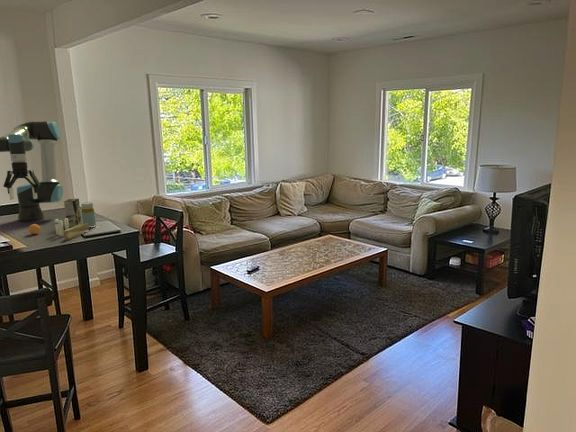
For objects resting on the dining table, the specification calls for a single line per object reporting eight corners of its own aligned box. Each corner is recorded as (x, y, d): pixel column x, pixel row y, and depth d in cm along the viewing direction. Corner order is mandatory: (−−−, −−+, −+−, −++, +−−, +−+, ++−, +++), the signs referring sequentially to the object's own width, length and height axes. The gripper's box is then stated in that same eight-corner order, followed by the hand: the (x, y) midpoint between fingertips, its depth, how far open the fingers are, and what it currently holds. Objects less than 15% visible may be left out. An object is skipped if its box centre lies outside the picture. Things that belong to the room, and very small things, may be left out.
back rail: (64, 239, 239) (63, 230, 238) (84, 231, 256) (83, 222, 255) (69, 239, 239) (68, 231, 237) (89, 231, 256) (88, 223, 255)
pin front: (55, 235, 249) (53, 219, 247) (58, 234, 251) (55, 219, 249) (58, 235, 248) (56, 220, 246) (61, 234, 250) (59, 219, 248)
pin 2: (65, 234, 250) (63, 219, 248) (67, 233, 252) (65, 218, 250) (68, 234, 250) (66, 219, 248) (70, 233, 252) (68, 218, 250)
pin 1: (59, 236, 246) (57, 221, 243) (61, 235, 247) (59, 220, 245) (62, 236, 245) (60, 221, 243) (65, 235, 247) (62, 220, 245)
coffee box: (78, 226, 267) (74, 200, 264) (66, 227, 266) (63, 201, 263) (82, 223, 276) (79, 198, 273) (71, 223, 275) (68, 198, 272)
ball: (26, 235, 249) (25, 225, 248) (34, 232, 255) (32, 222, 254) (36, 235, 248) (34, 225, 247) (43, 232, 254) (41, 222, 253)
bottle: (91, 228, 261) (88, 204, 258) (81, 228, 263) (78, 204, 259) (98, 225, 268) (95, 202, 265) (88, 225, 269) (85, 201, 266)
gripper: (-8, 162, 243) (-2, 200, 246) (36, 161, 242) (41, 199, 246) (2, 162, 250) (6, 198, 254) (44, 160, 250) (48, 197, 253)
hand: (23, 199), depth 250 cm, fingers open, 13 cm apart
